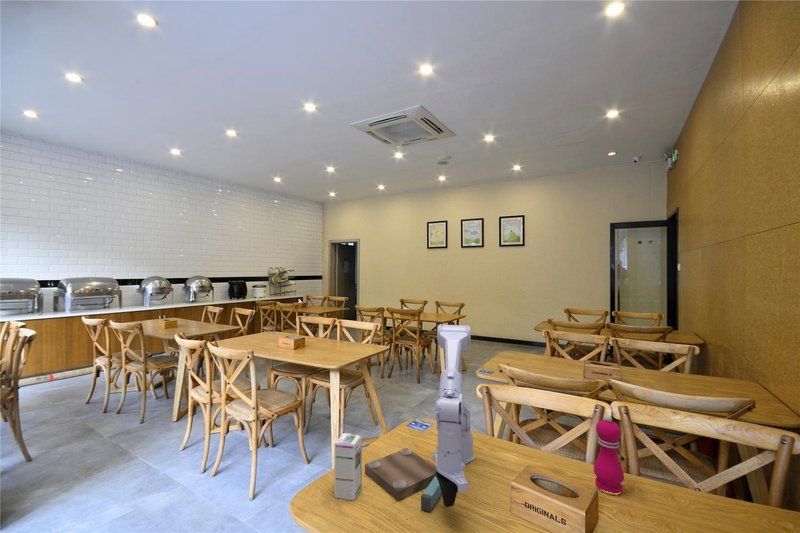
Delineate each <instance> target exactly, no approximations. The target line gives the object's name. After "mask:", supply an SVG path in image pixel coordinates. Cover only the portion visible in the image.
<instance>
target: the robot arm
mask: <svg viewBox="0 0 800 533" xmlns="http://www.w3.org/2000/svg"><path fill="white" fill-rule="evenodd" d="M471 334H472V332H471V326H470V325H469V324H468V325H461V324H460V325H459V324H454V325H453V324H442V323H440V324H439V325H438V326H437V335H436V336H437V344H438V345H439V348H441V349H443V350H444V354H445V355H444V356H445V357H444V358H445V366H444V368H445V370H443V371H442V372H441V374H440V377H439V378H440V379H439V388H438V389H439V390H438V398H436V400H435V408H434V409H435V410H434V411H435V412H434V413H435V421H436V430H437V441H436V442H437V443H436V444H437V445H436V446H437V450H436V451H433V454H432V455H433V457H432V458H433V461H434V462H435V466H436V469H437V472H436V473H435V475H436V477H437V479H438V482H439V485H440V488H441V497H442V501H443V502H442V503H443V505H444V507H445V508H450V507H454V506H455V503H456V499H457V495H458V493H460V494H461V493H465V492H468V487H469V486H468V484H469V483H468V481H467V480H466V477H465V473H464V471H463V470H464V469H466V465H467V464H469V463H470V462H472V461H475V460H476V457H475V456H474V437H473V434H472V431H471V407H470V405H469V404H468V403H467V402H465V401H464V400H463V376H462V374H463V372H462V371H463V370H462V368H463V366H462V365H463V364H462V363H463V361H462V360H463V359H462V355H463V352H464V351H466V350H469V349H470V348H471V345H472V344H471V343H472V342H471V339H472V338H471V336H472V335H471Z"/></svg>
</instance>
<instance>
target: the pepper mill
mask: <svg viewBox="0 0 800 533" xmlns="http://www.w3.org/2000/svg"><path fill="white" fill-rule="evenodd" d="M595 432H596V434H597V435H598V437H597V439H598V440H597V442H598V444H599V454H598V456H597V458H596V459H595V462H594V463H593V472H594V475H595V486H597V487H598V488H599V489H602V490H605V491H608V492H612V493H619V492H621V491H622V492H623V485H622V484H623V482H624V480H625V473H624V470H623V466H622V464H621V463H620V461H619V456H618V449H619V447H620V444H619V443H620V439H621V436H622V430H621V428H620V426H619V425H618V424H617V423H616V422H614V421H613V418H612V416H611V415H608V414H607V415H605V416H604V419H602V420H599V421H597V423H596V426H595ZM597 487H596V488H597ZM598 488H597V489H598ZM599 489H598V490H599Z"/></svg>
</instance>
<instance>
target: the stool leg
mask: <svg viewBox="0 0 800 533" xmlns="http://www.w3.org/2000/svg"><path fill="white" fill-rule="evenodd" d="M441 495H442V493H441V488H440V485H439V482H438V479H437V477H436V475H435V477H434V478H433V480H432V481H431V483H430V484H429V486H428V487H426V488H425V490H424V491H423V493H422V494H421V495H420V510H423V511H426V512H428V513H430V512H431V511H432V509H433V508H434V506H435V504H436V502H437V501H438V500H439V498H440V496H441Z"/></svg>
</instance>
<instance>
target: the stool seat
mask: <svg viewBox="0 0 800 533" xmlns="http://www.w3.org/2000/svg"><path fill="white" fill-rule="evenodd" d="M436 472H437V469H436V464H433V463H431V462H430V461H428V460H427V459H425V458H423V457H422V456H421V455H418V454H417V453H415V452H414V451H413V450H412V449H409V448H408V447H406V448H402V449H401V450H398V451H396V452H393V453H390V454H389V455H385V456H383V457H381V458H378V459H375V460H372V461H369V462H368V463H365V464H364V474H365V475H366V476H368V478H370V479H371V480H372V481H373V482H374V483H376V484H377V485H378V486H379V487H380V488H381V489H383V490H384V491H385V492H386V493H388V495H390V496H391V497H392V498H394V499H395V500H396V501H397V502H400V501H402V500H404V499H406V498H409V497H410V496H412V495H414V494H417V493H419V491H422V490H424V489H427V487H428V486H429V484H430V483H431V481H432V480H433V478H434V477H435V473H436Z"/></svg>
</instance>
